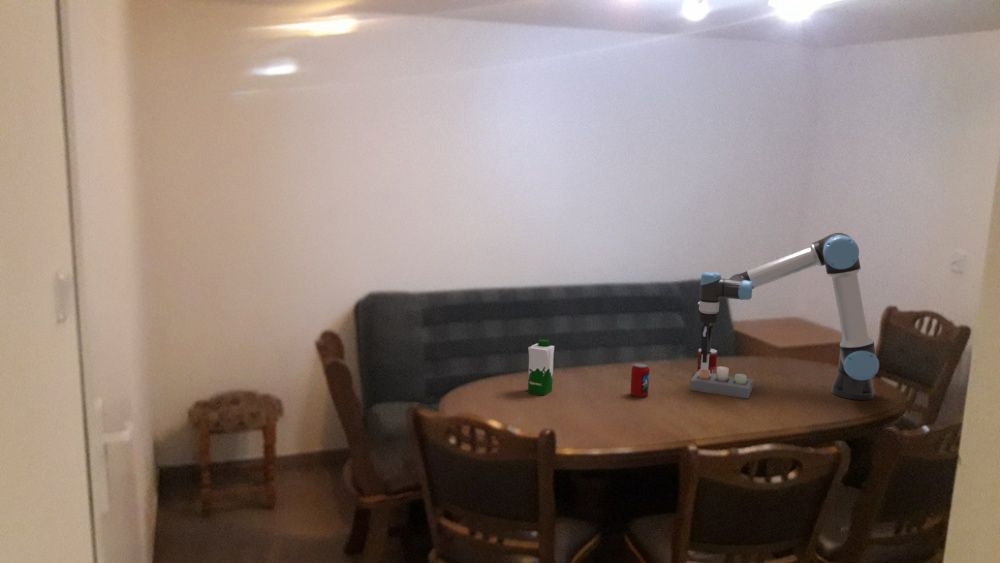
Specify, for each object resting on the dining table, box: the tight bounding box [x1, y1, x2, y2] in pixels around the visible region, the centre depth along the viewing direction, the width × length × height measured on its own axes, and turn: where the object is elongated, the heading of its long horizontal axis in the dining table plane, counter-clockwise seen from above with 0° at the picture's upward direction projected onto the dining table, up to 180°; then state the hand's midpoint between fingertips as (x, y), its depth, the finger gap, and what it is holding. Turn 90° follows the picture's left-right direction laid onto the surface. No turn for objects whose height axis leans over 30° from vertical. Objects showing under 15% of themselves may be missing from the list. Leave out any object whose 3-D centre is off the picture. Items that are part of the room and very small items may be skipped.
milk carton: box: [527, 338, 555, 396], centre depth 296 cm, size 9×9×20 cm
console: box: [689, 371, 754, 400], centre depth 306 cm, size 22×14×4 cm, turn 65°
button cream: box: [716, 365, 730, 382], centre depth 305 cm, size 4×4×5 cm
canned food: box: [696, 348, 718, 374], centre depth 324 cm, size 8×8×11 cm
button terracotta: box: [698, 369, 710, 380], centre depth 308 cm, size 4×4×5 cm
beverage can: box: [630, 362, 651, 398], centre depth 296 cm, size 7×7×12 cm
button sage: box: [734, 373, 747, 385], centre depth 303 cm, size 4×4×5 cm
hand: (704, 369), depth 308 cm, fingers closed
